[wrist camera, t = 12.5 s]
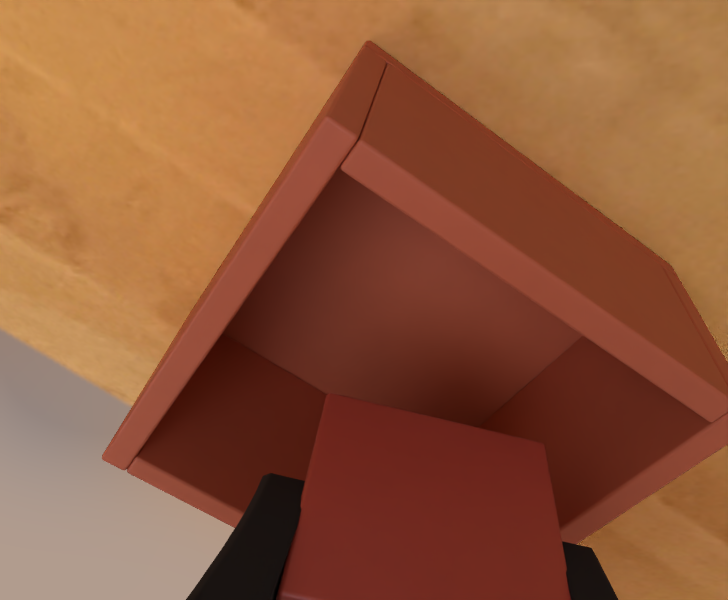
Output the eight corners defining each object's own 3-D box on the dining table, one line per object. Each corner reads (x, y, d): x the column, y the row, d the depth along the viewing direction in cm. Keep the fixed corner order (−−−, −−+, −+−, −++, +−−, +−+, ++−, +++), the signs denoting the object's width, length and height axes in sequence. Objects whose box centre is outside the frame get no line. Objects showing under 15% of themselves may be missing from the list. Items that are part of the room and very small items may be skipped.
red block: (546, 441, 12) (587, 664, 8) (478, 575, 14) (488, 797, 10) (327, 389, 11) (277, 593, 8) (294, 532, 14) (242, 741, 10)
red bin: (672, 266, 16) (764, 422, 11) (443, 465, 21) (440, 635, 16) (368, 38, 14) (325, 113, 9) (188, 315, 19) (99, 459, 14)
